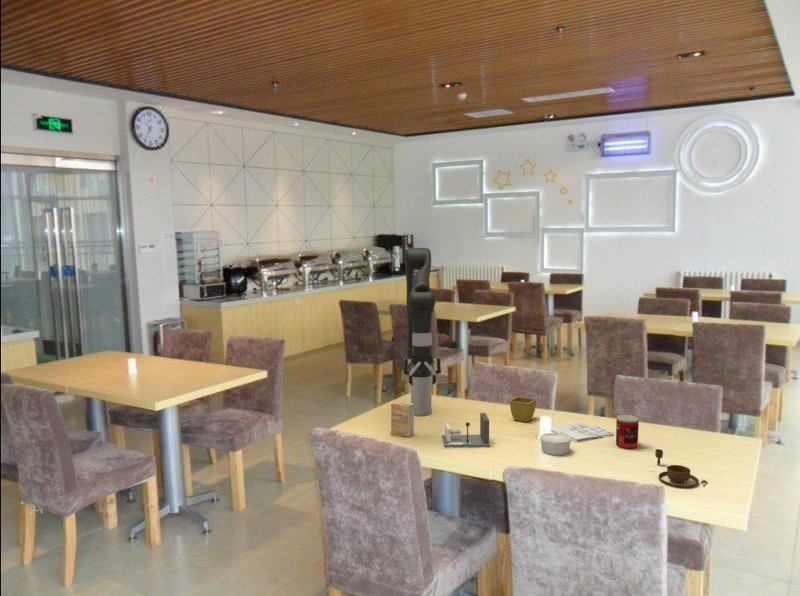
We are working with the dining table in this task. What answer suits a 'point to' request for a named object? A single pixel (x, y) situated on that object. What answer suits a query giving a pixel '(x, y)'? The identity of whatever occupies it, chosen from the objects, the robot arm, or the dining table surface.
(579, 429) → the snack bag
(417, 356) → the robot arm
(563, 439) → the ramekin
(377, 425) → the dining table surface
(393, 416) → the supplement box
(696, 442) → the dining table surface
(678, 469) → the place setting
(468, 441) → the black ball-ended rod
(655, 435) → the dining table surface
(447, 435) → the pad
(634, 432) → the canned food
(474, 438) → the gauge frame
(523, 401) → the flower pot
